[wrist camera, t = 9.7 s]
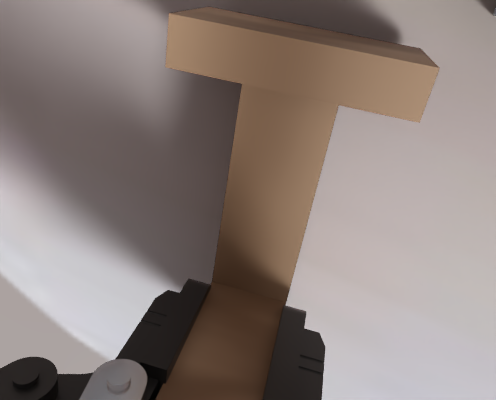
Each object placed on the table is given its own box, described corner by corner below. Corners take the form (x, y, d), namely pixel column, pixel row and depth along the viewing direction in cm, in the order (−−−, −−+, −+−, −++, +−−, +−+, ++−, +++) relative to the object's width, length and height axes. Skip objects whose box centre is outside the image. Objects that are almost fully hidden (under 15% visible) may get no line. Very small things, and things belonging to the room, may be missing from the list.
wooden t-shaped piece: (420, 48, 12) (557, 188, 4) (318, 348, 17) (287, 658, 9) (208, 6, 12) (-51, 51, 4) (176, 308, 18) (37, 563, 10)
